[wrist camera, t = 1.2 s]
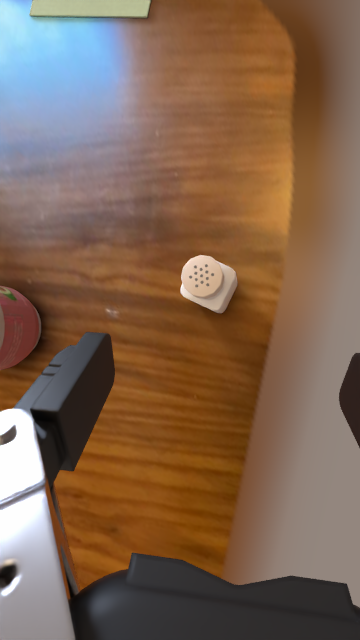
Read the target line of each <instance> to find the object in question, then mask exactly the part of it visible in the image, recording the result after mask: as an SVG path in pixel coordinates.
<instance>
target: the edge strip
mask: <svg viewBox="0 0 360 640" xmlns="http://www.w3.org/2000/svg"><path fill="white" fill-rule="evenodd" d="M150 4H151V0H33V1H32V6H31V10H30V16H36V17H105V18H147V17H148V13H149V9H150Z"/></svg>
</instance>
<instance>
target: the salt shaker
mask: <svg viewBox="0 0 360 640" xmlns="http://www.w3.org/2000/svg"><path fill="white" fill-rule="evenodd" d="M181 280H182V282H183V283H182V286H181V294H182V295H183V297H185V298H187V299H189V300H191V301H193V302H195V303H197V304H200V305H202V306H204V307H206V308H208V309H210V310H212V311H214V312H216V313H223V312H224V311H225V310H226V308H227V306H228V304H229V302H230V300H231V298H232V295H233V293H234V291H235V289H236V287H237V276H236V272H235V271H234V270H233V269H232V268H230V267H228V266H226V265H224V264H222V263H220V262H218V261H216V260H214V259H213V258H212V257H210V256H203V255H199V256H197V257H194V258H192V259H190V260H189V261H188V262H187V263H186V265H185V266H184V267H183V271H182V276H181Z"/></svg>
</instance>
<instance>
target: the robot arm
mask: <svg viewBox="0 0 360 640" xmlns="http://www.w3.org/2000/svg"><path fill="white" fill-rule="evenodd" d="M114 376H115V368H114V359H113V351H112V343H111V337H110V335H109V334H107V333H93V332H86V333H85V334H84V335H83V337H82V338H81V339H80V341H79V342H78V344H77V345H76V346H74V345H70V346H68V347H67V348H65V349H64V350H62V351H60V352H59V353H57V354H56V356H55V357H54V358H53V359H52V361H51V362H50V363H49V366H47V367H46V368H45V369H44V371H43V372H42V375H40V376H39V377H38V378H37V379H36V381H35V382H34V383H33V384H32V386H31V387H30V388H29V389H28V391H27V392H26V393H25V394H24V396H23V397H22V398H21V399H20V400H19V402H18V403H17V404H16V405H15V407H14V408H13V409H10V410H4V411H1V412H0V640H360V608H359V607H357V606H355V605H353V603H352V600H351V596H350V593H349V590H348V586H347V584H344V583H338V582H331V581H324V580H317V579H310V578H303V577H296V576H287V577H282V578H277V579H272V580H266V581H261V582H255V583H250V584H245V585H234V584H231V583H229V582H227V581H225V580H223V579H221V578H219V577H217V576H215V575H213V574H210V573H208V572H206V571H204V570H202V569H200V568H198V567H196V566H194V565H192V564H190V563H187V562H185V561H183V560H179V559H172V558H165V557H158V556H151V555H144V554H137V553H132V555H131V560H130V564H129V569H126V570H121V571H117V572H115V573H112V574H109V575H106V576H104V577H102V578H100V579H98V580H96V581H94V582H93V583H91V584H90V585H88V586H87V587H85V588H84V589H82V590H80V586H79V582H78V578H77V574H76V571H75V567H74V563H73V560H72V556H71V553H70V549H69V545H68V540H67V536H66V532H65V527H64V523H63V519H62V514H61V510H60V506H59V501H58V497H57V493H56V489H55V485H54V480H55V478H56V476H57V474H58V472H59V470H67V471H74V469H75V467H76V465H77V463H78V460H79V458H80V456H81V454H82V452H83V449H84V447H85V445H86V443H87V441H88V439H89V436H90V434H91V432H92V430H93V428H94V425H95V423H96V421H97V419H98V417H99V414H100V412H101V410H102V408H103V406H104V403H105V401H106V399H107V397H108V395H109V393H110V390H111V388H112V386H113V382H114ZM339 401H340V407H341V409H342V412H343V414H344V416H345V418H346V420H347V422H348V424H349V426H350V428H351V431H352V433H353V435H354V437H355V439H356V441H357V443H358V445H359V447H360V353H356V354H354V356H353V357H352V359H351V362H350V364H349V367H348V370H347V373H346V375H345V378H344V381H343V383H342V386H341V389H340V393H339Z"/></svg>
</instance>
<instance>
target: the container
mask: <svg viewBox="0 0 360 640" xmlns="http://www.w3.org/2000/svg"><path fill="white" fill-rule="evenodd" d="M40 334H41V320H40V317H39V314H38V312H37V310H36V308H35V307H34V306H33V305H32V303H31V302H30V301H29V300H28V299H27V298H26V297H24V296H23V295H22V294H20V293H19V292H18V291H16V290H14V289H12V288H8V287H4V286H0V370H2V369H6V368H10V367H12V366H14V365H16V364H18V363H19V362H20V361H22V360H23V359H24V358H26V357H27V356H28V355H29V354H30V353H31V351H32V350H33V349H34V348H35V346H36V345H37V343H38V341H39V338H40Z"/></svg>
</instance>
